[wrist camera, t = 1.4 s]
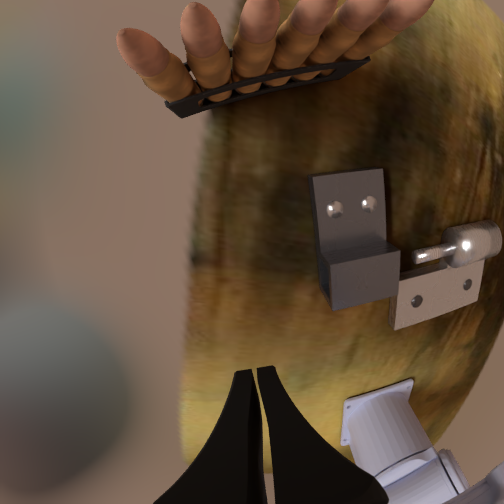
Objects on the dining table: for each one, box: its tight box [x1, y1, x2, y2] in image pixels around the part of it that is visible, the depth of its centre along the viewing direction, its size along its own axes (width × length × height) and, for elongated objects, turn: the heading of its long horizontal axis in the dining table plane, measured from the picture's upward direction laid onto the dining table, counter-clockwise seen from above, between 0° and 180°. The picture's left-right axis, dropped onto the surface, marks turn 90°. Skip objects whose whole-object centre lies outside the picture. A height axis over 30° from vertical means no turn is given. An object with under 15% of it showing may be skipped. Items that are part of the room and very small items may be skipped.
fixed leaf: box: [388, 220, 502, 330], centre depth 20 cm, size 8×10×3 cm
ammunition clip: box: [117, 0, 434, 118], centre depth 10 cm, size 11×2×12 cm, turn 106°
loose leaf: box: [308, 167, 400, 311], centre depth 18 cm, size 8×5×3 cm, turn 10°
